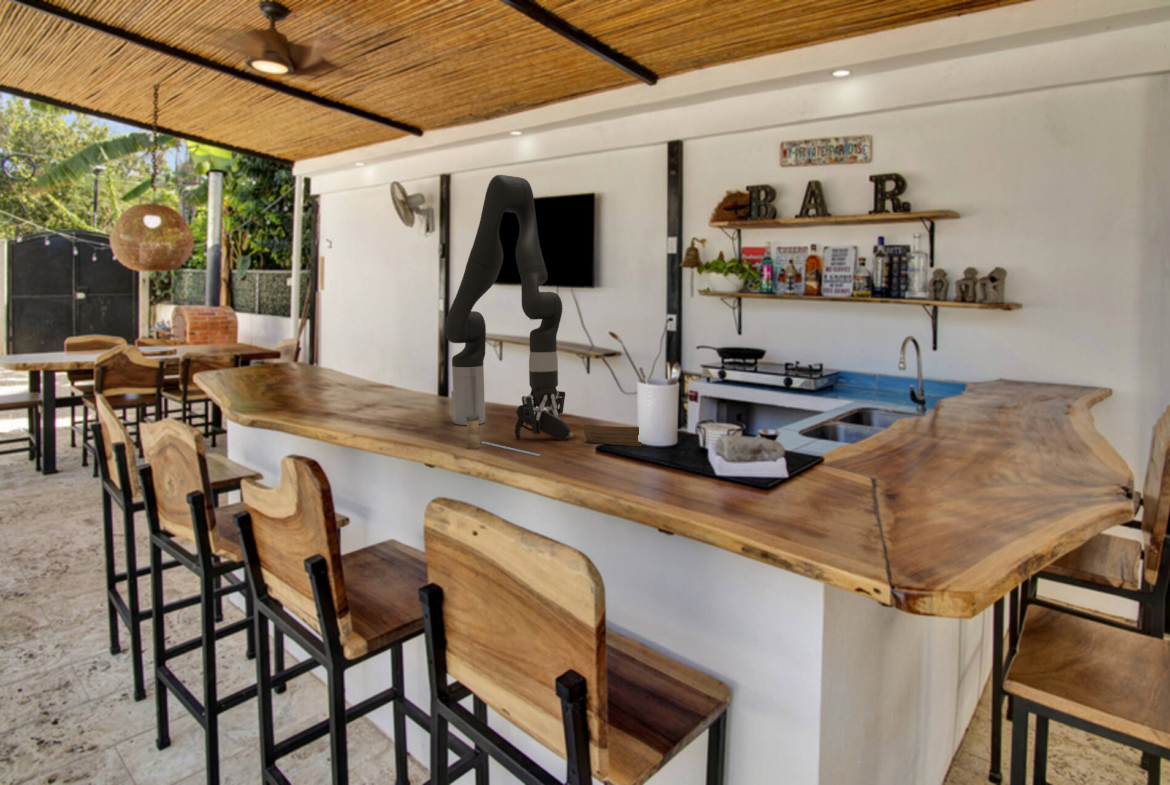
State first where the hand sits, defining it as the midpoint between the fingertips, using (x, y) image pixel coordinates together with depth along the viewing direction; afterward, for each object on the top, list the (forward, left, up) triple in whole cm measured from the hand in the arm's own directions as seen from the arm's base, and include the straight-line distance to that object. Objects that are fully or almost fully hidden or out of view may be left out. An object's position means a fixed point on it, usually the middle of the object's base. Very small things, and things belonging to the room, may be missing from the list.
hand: (544, 431), depth 183 cm
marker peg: (-6, -19, -2) cm, 20 cm away
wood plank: (+18, +8, -2) cm, 19 cm away
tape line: (+2, -14, -2) cm, 14 cm away
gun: (0, 0, -2) cm, 2 cm away
